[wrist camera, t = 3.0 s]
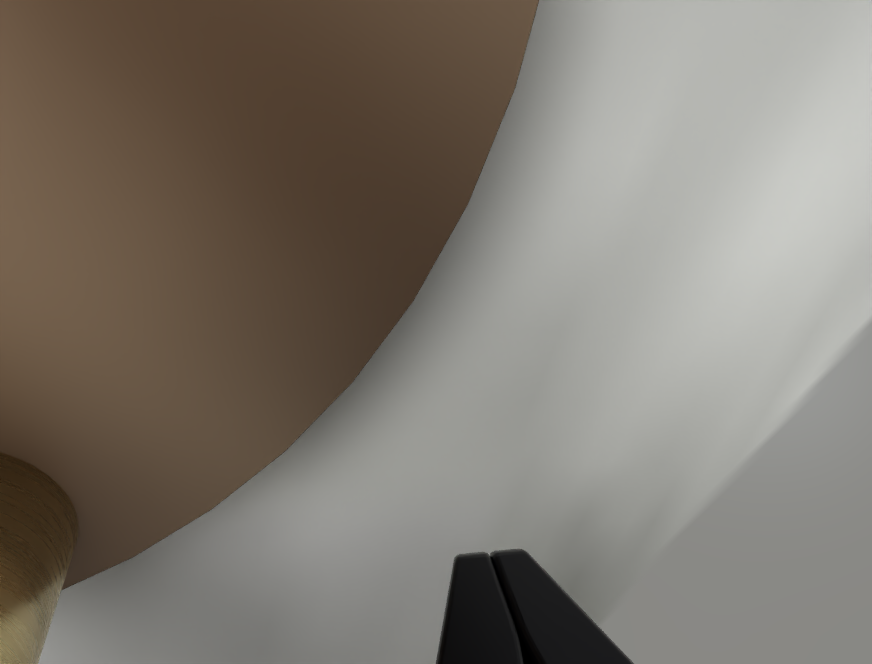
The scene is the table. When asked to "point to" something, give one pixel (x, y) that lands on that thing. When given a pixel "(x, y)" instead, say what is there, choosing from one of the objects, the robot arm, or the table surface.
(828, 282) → the table surface
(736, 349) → the table surface
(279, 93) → the dial
